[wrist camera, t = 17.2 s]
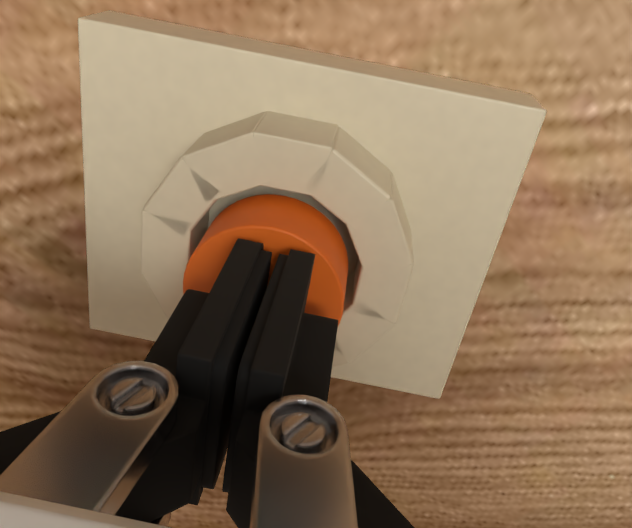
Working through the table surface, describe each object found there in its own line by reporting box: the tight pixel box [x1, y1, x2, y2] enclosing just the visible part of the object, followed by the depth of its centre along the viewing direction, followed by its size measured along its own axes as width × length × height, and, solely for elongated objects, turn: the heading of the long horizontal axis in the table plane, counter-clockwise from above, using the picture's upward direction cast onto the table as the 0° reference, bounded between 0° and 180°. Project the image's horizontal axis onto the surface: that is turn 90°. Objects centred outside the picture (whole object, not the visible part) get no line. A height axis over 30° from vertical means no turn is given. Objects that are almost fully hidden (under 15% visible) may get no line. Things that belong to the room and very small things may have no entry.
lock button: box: [183, 194, 348, 326], centre depth 13 cm, size 4×4×2 cm
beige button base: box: [78, 10, 547, 399], centre depth 15 cm, size 11×9×4 cm
